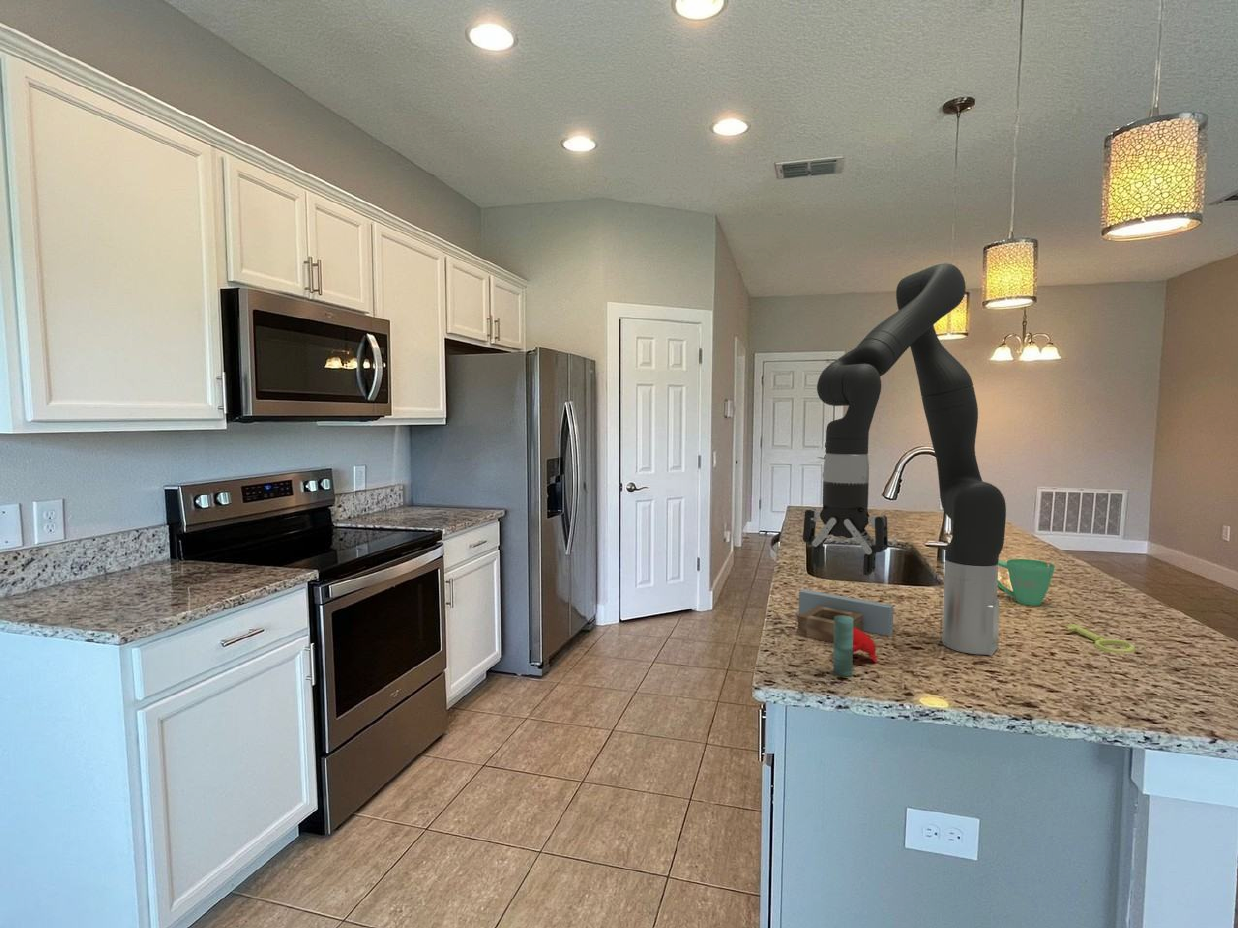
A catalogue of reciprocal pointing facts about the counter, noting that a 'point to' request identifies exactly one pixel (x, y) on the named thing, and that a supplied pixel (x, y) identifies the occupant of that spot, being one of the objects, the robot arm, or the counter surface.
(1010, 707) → the counter surface
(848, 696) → the counter surface
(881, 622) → the wall
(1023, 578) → the mug
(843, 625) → the dowel
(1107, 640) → the key
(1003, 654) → the counter surface
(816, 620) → the holed block
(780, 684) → the counter surface
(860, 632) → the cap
